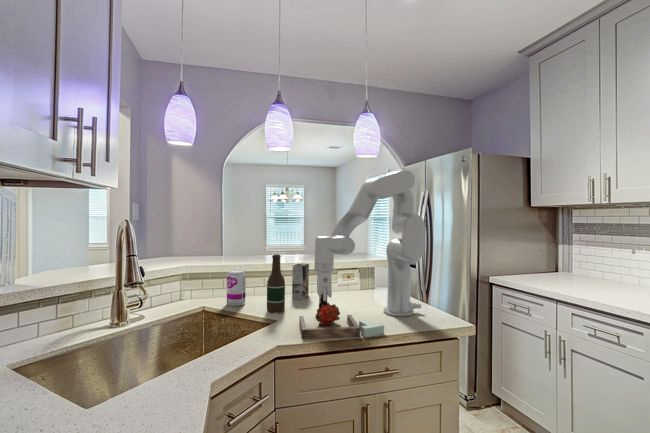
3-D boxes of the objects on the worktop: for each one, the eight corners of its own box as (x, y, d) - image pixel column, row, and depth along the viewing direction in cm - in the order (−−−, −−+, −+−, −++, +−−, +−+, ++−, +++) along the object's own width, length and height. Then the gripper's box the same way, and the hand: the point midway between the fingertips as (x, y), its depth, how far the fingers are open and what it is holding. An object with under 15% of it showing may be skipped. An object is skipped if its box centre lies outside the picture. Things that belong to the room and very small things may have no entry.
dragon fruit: (339, 324, 139) (319, 337, 130) (325, 309, 143) (304, 320, 134) (348, 310, 135) (328, 322, 126) (333, 294, 139) (312, 305, 130)
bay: (350, 322, 137) (351, 314, 137) (360, 336, 122) (360, 328, 122) (299, 323, 135) (299, 315, 135) (302, 338, 119) (302, 329, 119)
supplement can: (235, 307, 155) (236, 273, 155) (222, 304, 160) (223, 271, 159) (249, 303, 162) (249, 270, 162) (236, 300, 166) (236, 269, 166)
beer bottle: (288, 309, 153) (288, 254, 153) (278, 314, 146) (279, 256, 146) (273, 307, 156) (273, 253, 156) (262, 311, 149) (263, 255, 149)
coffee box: (304, 299, 171) (304, 266, 170) (291, 298, 172) (292, 265, 172) (309, 295, 180) (309, 263, 179) (296, 294, 181) (297, 262, 180)
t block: (370, 327, 132) (371, 319, 132) (383, 333, 125) (384, 325, 125) (352, 330, 129) (352, 321, 129) (365, 337, 122) (365, 328, 121)
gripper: (336, 270, 133) (335, 319, 133) (330, 264, 148) (329, 308, 148) (316, 270, 132) (315, 319, 132) (312, 264, 147) (311, 308, 147)
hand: (322, 313), depth 140 cm, fingers closed
